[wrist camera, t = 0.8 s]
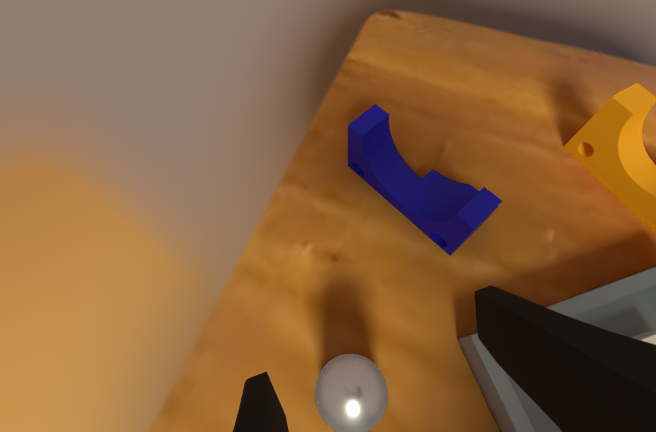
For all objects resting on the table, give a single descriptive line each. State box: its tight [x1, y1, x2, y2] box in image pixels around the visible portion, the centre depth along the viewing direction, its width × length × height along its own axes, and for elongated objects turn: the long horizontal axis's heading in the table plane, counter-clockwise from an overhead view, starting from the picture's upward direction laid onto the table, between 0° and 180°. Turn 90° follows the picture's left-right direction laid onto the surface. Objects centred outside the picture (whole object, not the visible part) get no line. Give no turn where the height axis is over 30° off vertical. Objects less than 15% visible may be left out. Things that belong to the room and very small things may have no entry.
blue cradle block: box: [348, 104, 502, 255], centre depth 28 cm, size 12×4×6 cm, turn 42°
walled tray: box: [457, 266, 656, 432], centre depth 21 cm, size 15×17×3 cm
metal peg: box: [315, 354, 388, 432], centre depth 21 cm, size 4×4×6 cm
